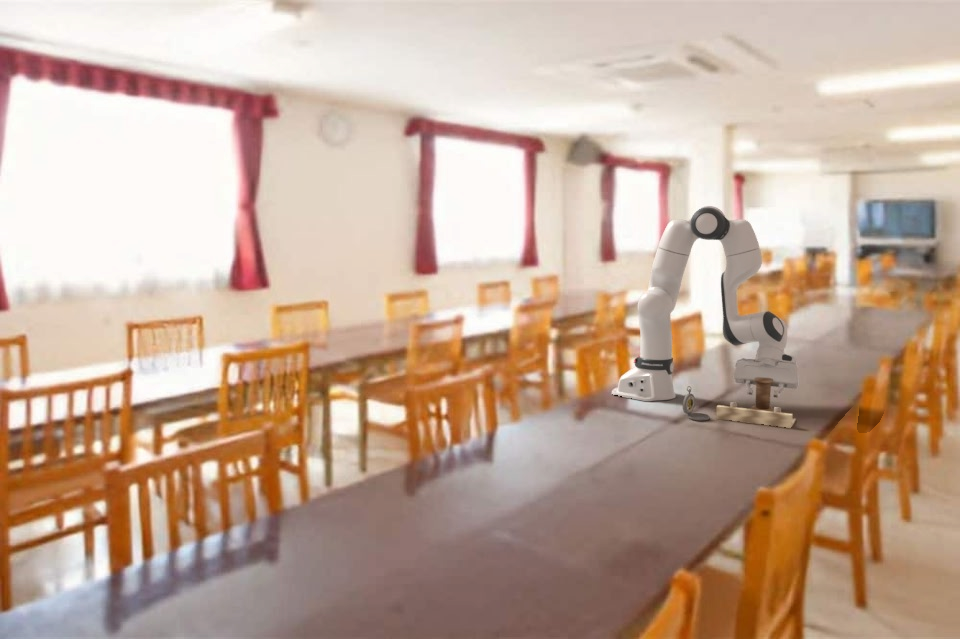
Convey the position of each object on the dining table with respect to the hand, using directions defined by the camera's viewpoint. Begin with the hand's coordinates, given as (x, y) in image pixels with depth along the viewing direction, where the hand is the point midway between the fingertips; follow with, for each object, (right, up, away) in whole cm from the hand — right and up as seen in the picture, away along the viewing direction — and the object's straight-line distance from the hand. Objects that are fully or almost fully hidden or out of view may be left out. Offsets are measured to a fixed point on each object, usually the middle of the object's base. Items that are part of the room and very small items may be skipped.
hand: (762, 395), depth 232 cm
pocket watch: (-24, -7, -6) cm, 26 cm away
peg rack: (-6, -7, -9) cm, 13 cm away
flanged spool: (0, -5, +1) cm, 5 cm away
